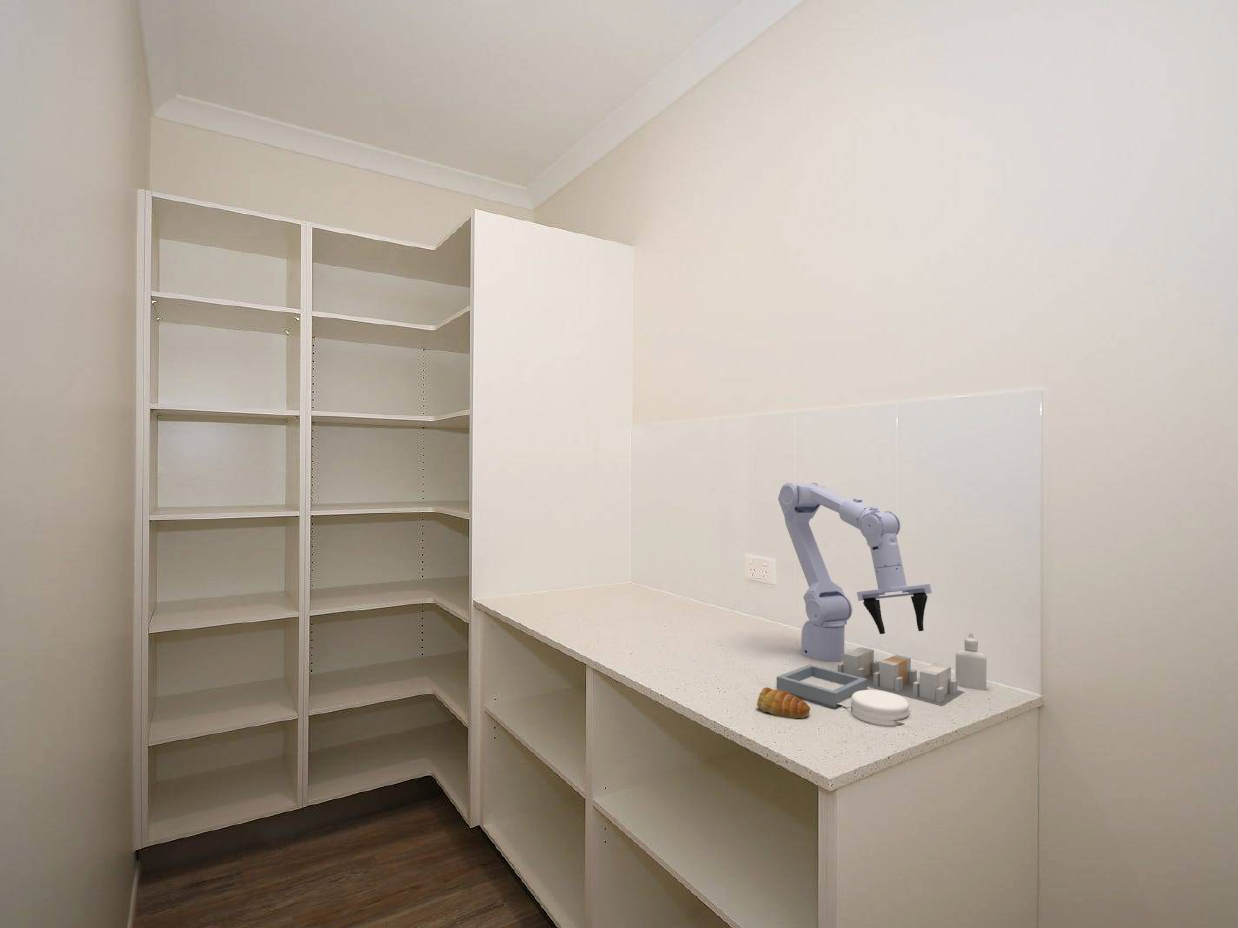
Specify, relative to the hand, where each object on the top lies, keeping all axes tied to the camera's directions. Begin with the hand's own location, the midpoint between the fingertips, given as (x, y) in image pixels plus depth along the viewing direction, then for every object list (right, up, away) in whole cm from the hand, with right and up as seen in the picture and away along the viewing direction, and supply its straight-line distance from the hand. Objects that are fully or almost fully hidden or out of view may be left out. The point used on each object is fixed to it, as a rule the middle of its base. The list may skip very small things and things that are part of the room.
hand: (901, 632), depth 133 cm
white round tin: (-11, -12, -15) cm, 22 cm away
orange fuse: (-1, -11, 0) cm, 11 cm away
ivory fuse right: (+4, -11, -6) cm, 13 cm away
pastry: (-29, -12, -13) cm, 34 cm away
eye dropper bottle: (+14, -12, -1) cm, 19 cm away
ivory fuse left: (-7, -11, +6) cm, 14 cm away
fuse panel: (-1, -12, 0) cm, 12 cm away
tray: (-18, -11, -3) cm, 21 cm away
